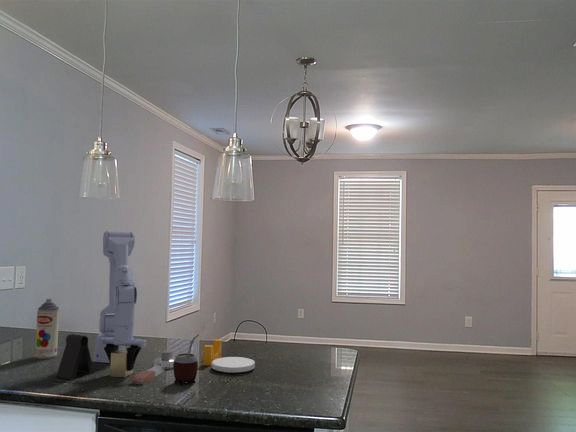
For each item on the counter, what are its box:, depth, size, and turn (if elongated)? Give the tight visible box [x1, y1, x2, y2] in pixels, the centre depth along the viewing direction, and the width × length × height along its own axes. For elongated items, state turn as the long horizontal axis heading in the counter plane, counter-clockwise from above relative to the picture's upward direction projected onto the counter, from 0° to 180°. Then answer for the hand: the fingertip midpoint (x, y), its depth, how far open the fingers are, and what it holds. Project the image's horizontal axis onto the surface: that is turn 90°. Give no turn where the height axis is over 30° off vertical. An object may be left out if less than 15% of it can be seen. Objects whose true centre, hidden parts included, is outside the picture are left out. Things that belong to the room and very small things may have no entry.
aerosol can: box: [34, 298, 60, 360], centre depth 171 cm, size 7×7×20 cm
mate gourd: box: [172, 334, 199, 386], centre depth 146 cm, size 8×8×15 cm
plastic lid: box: [211, 356, 256, 373], centre depth 163 cm, size 14×14×2 cm
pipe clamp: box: [203, 338, 223, 366], centre depth 173 cm, size 12×4×6 cm, turn 171°
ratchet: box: [130, 350, 176, 385], centre depth 155 cm, size 8×25×5 cm, turn 171°
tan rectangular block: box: [109, 349, 134, 378], centre depth 152 cm, size 5×5×7 cm
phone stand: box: [55, 333, 95, 381], centre depth 151 cm, size 9×6×12 cm, turn 156°
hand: (121, 369), depth 152 cm, fingers closed on tan rectangular block, 5 cm apart
